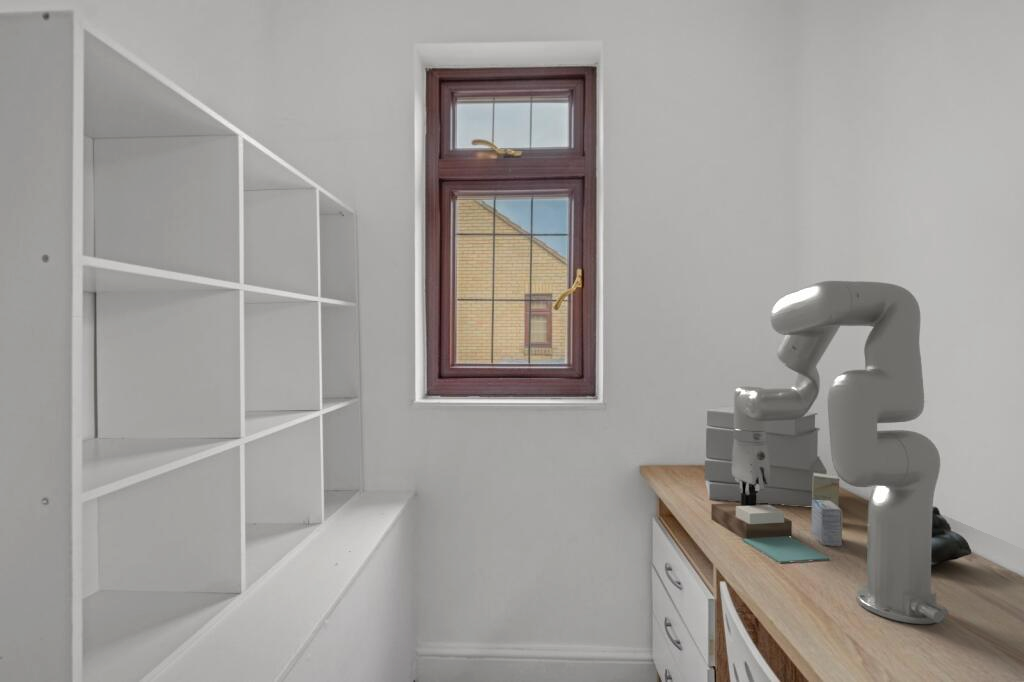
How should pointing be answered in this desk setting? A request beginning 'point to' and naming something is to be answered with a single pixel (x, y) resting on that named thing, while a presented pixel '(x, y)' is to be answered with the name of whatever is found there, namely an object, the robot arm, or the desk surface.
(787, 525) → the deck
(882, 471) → the robot arm
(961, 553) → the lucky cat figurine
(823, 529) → the medicine box
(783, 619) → the desk surface
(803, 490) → the book stack
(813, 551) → the mat
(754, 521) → the white rectangular block
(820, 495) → the skincare box
